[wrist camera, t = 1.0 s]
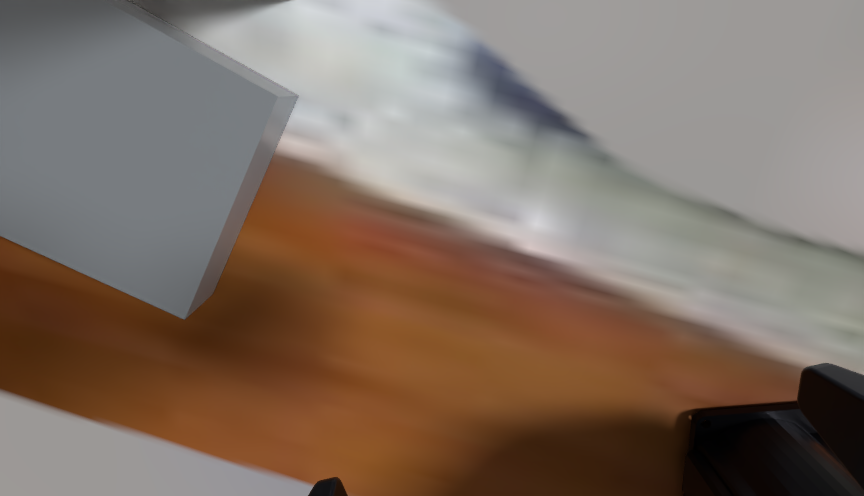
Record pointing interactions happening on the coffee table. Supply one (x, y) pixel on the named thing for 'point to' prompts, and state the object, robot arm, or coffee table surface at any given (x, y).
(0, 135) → the plinth
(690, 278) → the coffee table surface
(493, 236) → the coffee table surface
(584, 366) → the coffee table surface
